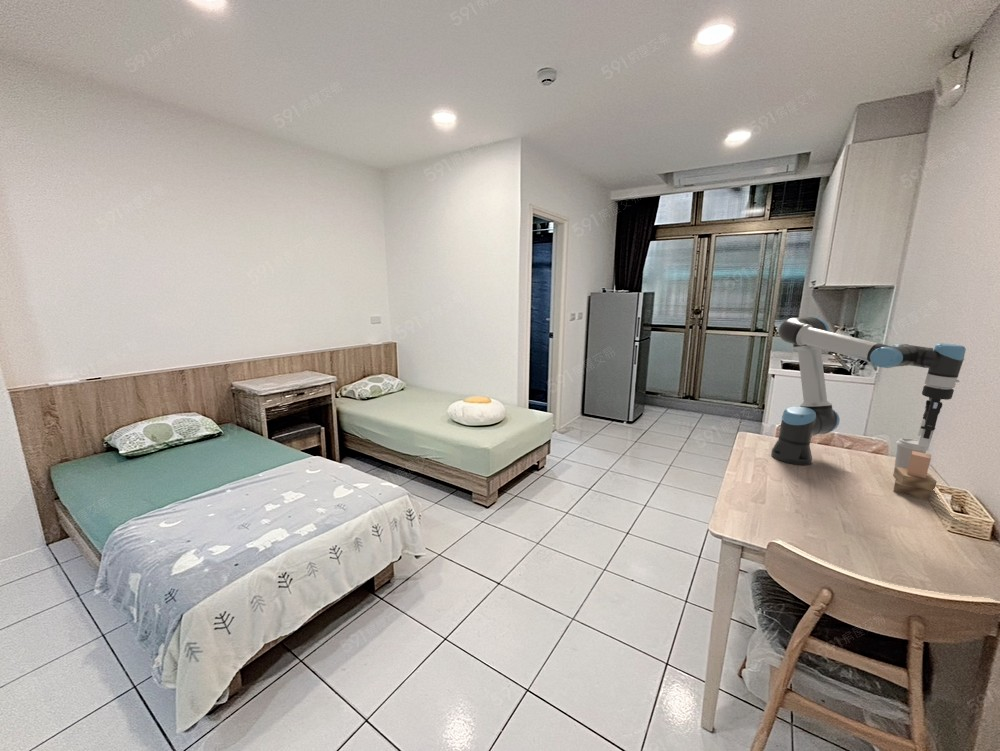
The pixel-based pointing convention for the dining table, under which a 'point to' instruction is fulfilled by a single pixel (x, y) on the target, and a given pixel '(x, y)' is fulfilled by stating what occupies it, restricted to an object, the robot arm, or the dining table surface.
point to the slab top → (914, 479)
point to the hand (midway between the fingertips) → (923, 441)
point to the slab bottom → (912, 491)
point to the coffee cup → (907, 451)
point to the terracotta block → (919, 464)
